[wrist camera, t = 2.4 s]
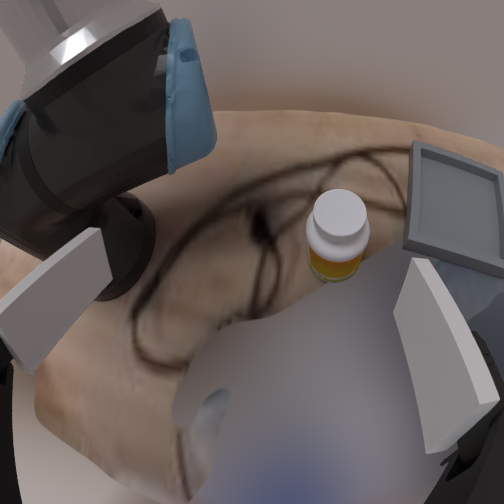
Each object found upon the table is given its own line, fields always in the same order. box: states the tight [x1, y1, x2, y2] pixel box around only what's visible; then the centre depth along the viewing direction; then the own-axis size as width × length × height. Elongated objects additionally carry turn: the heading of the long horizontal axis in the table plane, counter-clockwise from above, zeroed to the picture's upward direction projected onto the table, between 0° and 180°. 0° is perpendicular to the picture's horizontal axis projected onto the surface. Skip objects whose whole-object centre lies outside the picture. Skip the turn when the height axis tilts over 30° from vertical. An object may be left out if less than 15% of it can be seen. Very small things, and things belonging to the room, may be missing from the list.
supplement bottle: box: [306, 189, 370, 283], centre depth 24 cm, size 5×5×10 cm
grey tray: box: [402, 140, 504, 278], centre depth 26 cm, size 14×14×2 cm
